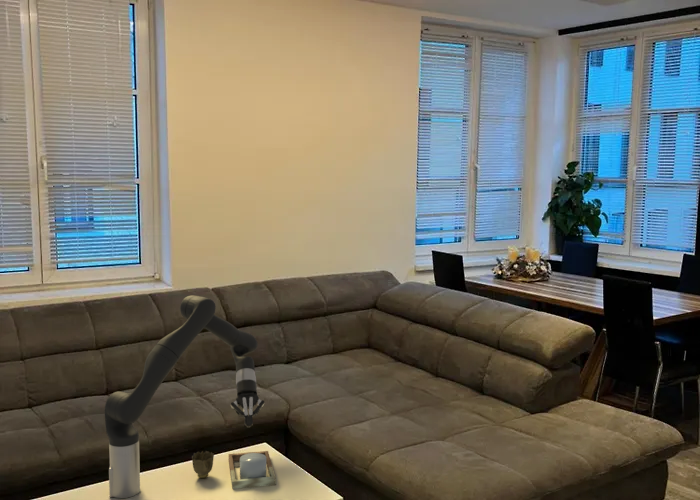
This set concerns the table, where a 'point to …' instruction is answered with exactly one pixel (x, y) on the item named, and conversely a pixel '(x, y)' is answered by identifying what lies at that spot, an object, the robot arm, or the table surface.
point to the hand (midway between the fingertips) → (249, 426)
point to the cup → (202, 463)
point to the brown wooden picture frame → (252, 481)
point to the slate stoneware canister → (252, 466)
